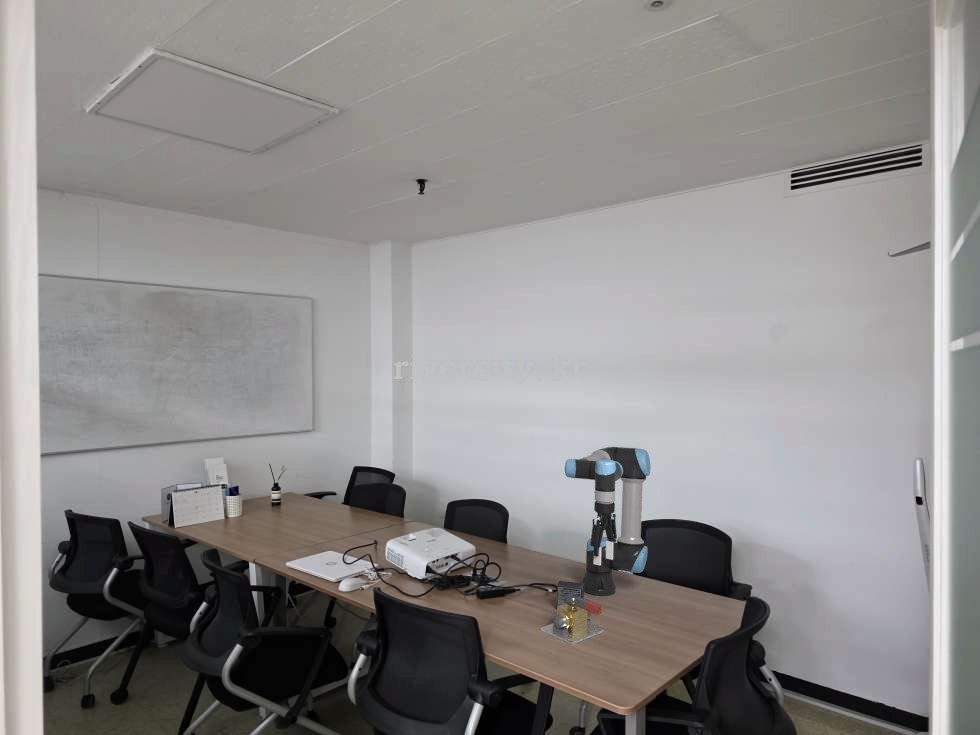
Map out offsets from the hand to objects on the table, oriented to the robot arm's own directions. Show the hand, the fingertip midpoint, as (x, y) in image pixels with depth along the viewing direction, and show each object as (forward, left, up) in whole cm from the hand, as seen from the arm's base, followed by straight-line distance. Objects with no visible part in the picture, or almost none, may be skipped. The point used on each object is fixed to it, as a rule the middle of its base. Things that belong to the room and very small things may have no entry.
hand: (603, 561), depth 235 cm
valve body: (+6, -9, -27) cm, 30 cm away
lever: (+7, -4, -17) cm, 19 cm away
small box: (-10, -24, -28) cm, 38 cm away
